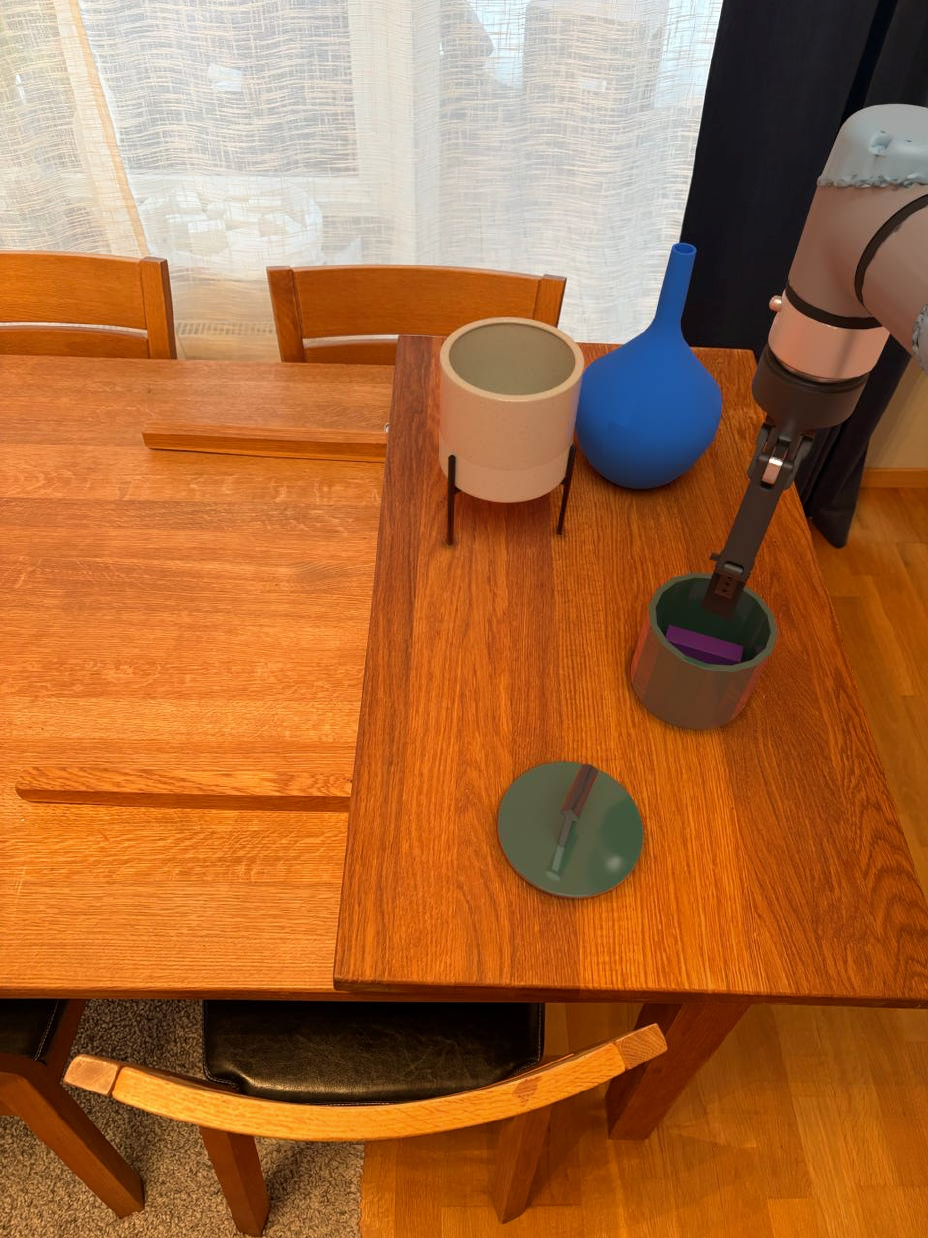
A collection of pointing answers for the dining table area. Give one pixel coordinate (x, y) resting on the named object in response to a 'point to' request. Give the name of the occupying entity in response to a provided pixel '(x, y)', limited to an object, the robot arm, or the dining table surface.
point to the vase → (650, 396)
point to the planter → (508, 411)
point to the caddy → (690, 685)
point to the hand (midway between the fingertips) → (736, 560)
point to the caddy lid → (570, 830)
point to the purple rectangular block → (704, 647)
